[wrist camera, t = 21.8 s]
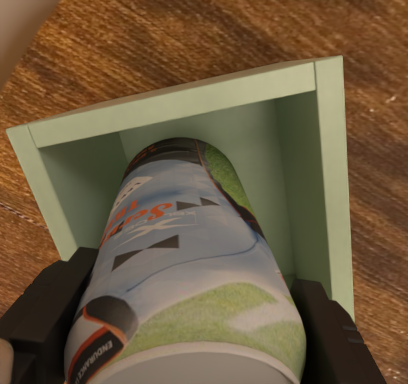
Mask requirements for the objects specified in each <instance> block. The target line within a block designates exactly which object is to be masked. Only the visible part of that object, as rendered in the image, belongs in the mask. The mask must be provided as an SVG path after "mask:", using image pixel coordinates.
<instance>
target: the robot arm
mask: <svg viewBox="0 0 408 384" xmlns="http://www.w3.org/2000/svg"><path fill="white" fill-rule="evenodd" d="M99 250H100V249H94V248H87V247H79V248H78V249H77V250H76V251H75V253H74V254H73V255H72V257H71V258H70V259H69V260H68V261H62V260H58V261H57V262H55V263H53V264H52V265H50V266H48V267H46V268H45V269H43V270H42V271H41V273H40V274H39V275H38V276H37V277H36V278H35V279H34V281H33V283H32V284H30V285H29V286H28V288H27V289H26V290H25V291H24V293H23V295H21V296H20V297H19V298H18V299H17V300H16V301H15V302H14V304H13V305H12V306H11V307H10V308H9V309H8V311H7V312H6V313H5V314H4V315H3V316H2V317H1V319H0V384H64V382H65V380H66V379H65V375H64V348H65V344H66V341H67V337H68V334H69V331H70V328H71V325H72V322H73V319H74V316H75V313H76V310H77V308H78V305H79V302H80V299H81V297H82V294H83V292H84V289H85V287H86V284H87V282H88V279H89V277H90V274H91V272H92V269H93V267H94V264H95V262H96V259H97V257H98V254H99ZM289 293H290V295H291V297H292V299H293V302H294V304H295V306H296V308H297V311H298V313H299V315H300V317H301V320H302V324H303V327H304V331H305V335H306V363H305V367H304V371H303V375H302V379H301V382H300V384H387V383H386V381H385V379H384V378H383V376H382V374H381V372H380V370H379V368H378V366H377V365H376V363H375V361H374V359H373V357H372V355H371V353H370V352H369V350H368V348H367V346H366V344H364V340H363V338H362V337H361V335H360V333H359V332H357V327H356V325H355V324H354V322H353V320H352V318H351V316H350V314H349V313H348V312H347V311H346V310H345V309H344V308H343V307H342V306H341V305H340V304H339V303H338V302H337V301H335V300H329V298H328V296H327V294H326V292H325V290H324V288H323V286H322V284H321V283H320V282H318V281H311V280H304V279H297V278H296V279H294V280H293V282H292V285H291V288H290V292H289Z"/></svg>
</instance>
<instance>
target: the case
mask: <svg viewBox="0 0 408 384" xmlns="http://www.w3.org/2000/svg"><path fill="white" fill-rule="evenodd" d="M6 133H7V136H8V138H9V140H10V143H11V145H12V147H13V149H14V152H15V154H16V156H17V159H18V161H19V163H20V165H21V168H22V170H23V172H24V175H25V177H26V179H27V181H28V184H29V186H30V188H31V191H32V193H33V195H34V197H35V200H36V202H37V204H38V206H39V209H40V211H41V213H42V216H43V218H44V220H45V222H46V225H47V227H48V229H49V232H50V234H51V236H52V238H53V241H54V243H55V245H56V248H57V250H58V252H59V254H60V257H61V259H62V261H68V260H69V259H70V258H71V257H72V255H73V254H74V253H75V251H76V250H77V249H78V248H79V247H87V248H94V249H98V248H99V245H100V242H101V239H102V236H103V233H104V230H105V227H106V225H107V222H108V219H109V216H110V213H111V210H112V207H113V205H114V202H115V199H116V196H117V193H118V190H119V187H120V185H121V182H122V179H123V176H124V173H125V171H126V169H127V167H128V165H129V163H130V162H131V161H132V160H133V158H134V157H135V156H136V155H137V154H138V153H139V152H141V151H142V150H143V149H144V148H146V147H148V146H149V145H151V144H153V143H155V142H158V141H161V140H163V139H169V138H174V137H187V138H193V139H198V140H201V141H204V142H207V143H209V144H210V145H212V146H214V147H216V148H217V149H218V150H220V151H221V152H222V153H223V154H224V155H225V156H226V157H227V158H228V159H229V161H230V162H231V163H232V165H233V167H234V169H235V171H236V173H237V175H238V177H239V180H240V182H241V184H242V186H243V189H244V191H245V193H246V195H247V198H248V200H249V202H250V204H251V207H252V209H253V211H254V214H255V216H256V218H257V220H258V223H259V225H260V227H261V229H262V232H263V234H264V236H265V238H266V241H267V243H268V245H269V247H270V250H271V252H272V254H273V256H274V259H275V261H276V263H277V265H278V268H279V270H280V272H281V274H282V277H283V279H284V281H285V284H286V286H287V288H288V290H289V292H290V288H291V285H292V282H293V280H294V279H296V278H297V279H304V280H311V281H318V282H320V283H321V284H322V286H323V288H324V290H325V292H326V294H327V296H328V298H329V300H335V301H337V302H338V303H339V304H340V305H341V306H342V307H343V308H344V309H345V310H346V311H347V312H348V313H349V314H350V316H351V318H352V320H353V322H354V301H353V278H352V256H351V233H350V211H349V189H348V166H347V144H346V121H345V99H344V76H343V57H342V56H341V55H339V56H330V57H321V58H312V59H303V60H295V61H286V62H279V63H275V64H270V65H266V66H261V67H256V68H252V69H247V70H243V71H238V72H234V73H229V74H225V75H220V76H216V77H211V78H207V79H202V80H198V81H193V82H189V83H184V84H180V85H175V86H171V87H166V88H162V89H157V90H153V91H148V92H144V93H139V94H135V95H130V96H126V97H121V98H117V99H112V100H108V101H103V102H99V103H96V104H92V105H89V106H85V107H81V108H78V109H74V110H71V111H67V112H64V113H60V114H57V115H53V116H50V117H46V118H42V119H39V120H35V121H32V122H28V123H25V124H21V125H18V126H14V127H11V128H7V129H6ZM354 324H355V323H354Z"/></svg>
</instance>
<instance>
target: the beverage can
mask: <svg viewBox="0 0 408 384" xmlns="http://www.w3.org/2000/svg"><path fill="white" fill-rule="evenodd" d="M98 249H100V250H99V254H98V257H97V259H96V262H95V264H94V267H93V269H92V272H91V274H90V277H89V279H88V282H87V284H86V287H85V289H84V292H83V294H82V297H81V299H80V302H79V305H78V308H77V310H76V313H75V316H74V319H73V322H72V325H71V328H70V331H69V334H68V337H67V341H66V344H65V348H64V375H65V379H66V382H67V384H300V382H301V379H302V375H303V371H304V367H305V363H306V335H305V331H304V327H303V324H302V320H301V317H300V315H299V313H298V311H297V308H296V306H295V304H294V302H293V299H292V297H291V295H290V293H289V290H288V288H287V286H286V284H285V281H284V279H283V277H282V274H281V272H280V270H279V268H278V265H277V263H276V261H275V259H274V256H273V254H272V252H271V250H270V247H269V245H268V243H267V241H266V238H265V236H264V234H263V232H262V229H261V227H260V225H259V223H258V220H257V218H256V216H255V214H254V211H253V209H252V207H251V204H250V202H249V200H248V198H247V195H246V193H245V191H244V189H243V186H242V184H241V182H240V180H239V177H238V175H237V173H236V171H235V169H234V167H233V165H232V163H231V162H230V161H229V159H228V158H227V157H226V156H225V155H224V154H223V153H222V152H221V151H220V150H218V149H217V148H216V147H214V146H212V145H210V144H209V143H207V142H204V141H201V140H198V139H193V138H187V137H174V138H169V139H163V140H161V141H158V142H155V143H153V144H151V145H149V146H148V147H146V148H144V149H143V150H142V151H141V152H139V153H138V154H137V155H136V156H135V157H134V158H133V160H132V161H131V162H130V163H129V165H128V167H127V169H126V171H125V173H124V176H123V179H122V182H121V185H120V187H119V190H118V193H117V196H116V199H115V202H114V205H113V207H112V210H111V213H110V216H109V219H108V222H107V225H106V227H105V230H104V233H103V236H102V239H101V242H100V245H99V248H98Z"/></svg>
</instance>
